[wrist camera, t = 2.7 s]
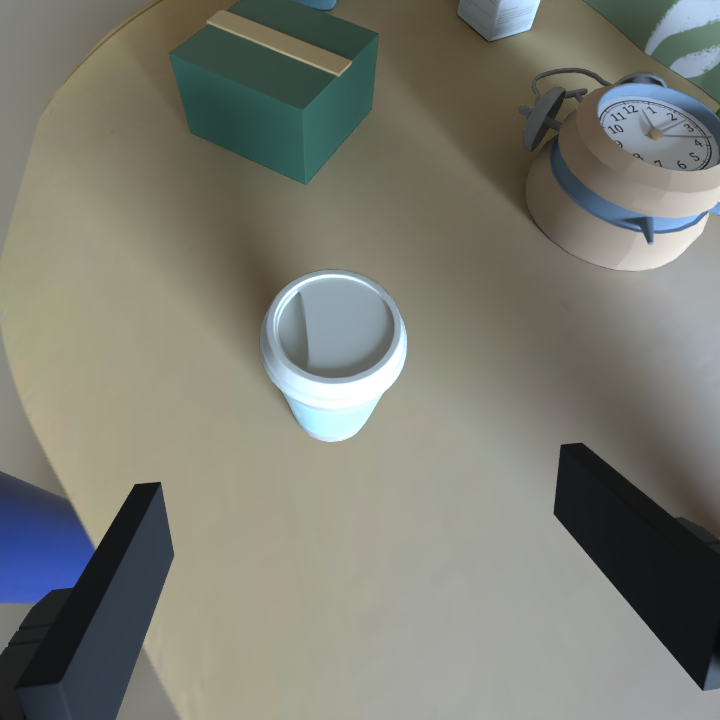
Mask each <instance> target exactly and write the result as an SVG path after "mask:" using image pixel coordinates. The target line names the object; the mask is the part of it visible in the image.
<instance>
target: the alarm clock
mask: <svg viewBox="0 0 720 720" xmlns="http://www.w3.org/2000/svg"><path fill="white" fill-rule="evenodd" d="M573 72H575V73H581V74H585V75H587V76H590V77H592V78H594V79H596V80H597V81H598V82H599V83H600V84H602V85H604V86H605V87H602V88H599V89H596V90H594V91H593V92H591V93H590V94H588V95H587V96H585V97H584V98H583V97H582V95H585V94H587V89H585V88H584V89H578V90H573V91H568V92H566V89H564V88H562V87H555V88H553V89H551V90H550V91H548V92H547V93H546V94H545V95H544V96H543V97H542V98H541V99H540V94H539V92H538V90H537V88H536V82H537V81H538V80H539V79H540V78H543V77H546V76H550V75H554V74H560V73H573ZM532 90H533V92H534V94H535V95H536V104H535V107H534V108H533V109H531V108H529V107H527V106H525V105H522V106H520V107H519V108H518V110H519V112H520V113H521V114H523V115H525V116H527V119H528V120H527V122H526V125H525V129H524V134H523V145H524V147H525V148H526V149H527V150H529V151H533V150H534V149H535V148H536V147H537V146H538V144H539V143H540V142H541V140H542V139H543V137H544V136H545V134H546V133H547V131H548V129H549V128H552V129H554V130H556V131H558V132H559V134H558V135H557V136H555V137H554V138H552V139H551V140H549V141H548V142H547V143H546V144H545V145H544V146H543V148H542V149H541V151H540V152H539V154H538V155H537V157H536V158H535V160H534V162H533V165H532V167H531V169H530V171H529V173H528V175H527V180H526V185H525V195H526V201H527V207H528V209H529V211H530V213H531V215H532V216H533V218H534V220H535V222H536V224H537V225H538V226H539V227H540V228H541V229H542V231H543V232H544V233H545V234H546V235H547V236H548V237H549V238H550V239H551V240H552V241H553V242H555V243H556V244H557V245H559V246H560V247H561V248H563V249H564V250H565V251H567V252H568V253H570V254H572V255H574V256H576V257H578V258H580V259H583V260H585V261H587V262H589V263H591V264H595V265H599V266H602V267H606V268H609V269H613V270H626V271H641V270H647V269H654V268H658V267H660V266H663V265H665V264H667V263H669V262H671V261H673V260H675V259H676V258H677V257H678V256H679V255H680V254H681V253H682V252H683V251H684V250H685V249H686V248H687V247H688V246H689V245H690V244H691V243H692V242H693V241H694V240H695V239H696V238H697V237H698V236H699V235H700V234H701V233H702V231H703V229H704V227H705V224H706V221H707V219H708V216H709V212H711V213H713V214H716V215H719V216H720V202H719V201H720V119H719V118H718V116H717V115H716V114H715V113H714V112H713V111H711V110H710V109H709V108H708V107H706V106H705V105H704V104H703V103H701V102H699V101H697V100H696V99H694V98H692V97H690V96H689V95H687V94H684V93H682V92H679V91H677V90H674V89H672V88H668V87H667V85H666V83H665V82H664V80H663V79H662V77H660V76H658V75H655V74H653V73H651V72H636V73H633V74H630V75H627V76H625V77H623V78H622V79H620V80H619V81H618V82H616V83H615V84H611V83H609V82H607V81H605V80H603V79H602V78H601V77H600V76H598V75H597V74H596V73H593V72H591V71H588V70H586V69H580V68H563V69H555V70H551V71H547V72H544V73H541V74H539V75H538V76H536V77H535V78H534V79H533V83H532ZM572 97H575V98H576V99H577V100H578V102H579V103H580V104H579V106H578V107H577V109H575V110H574V111H572V112H571V113H570V114H569V115H568V116H567V118H566V119H565V121H564V122H563V124H562V123H560V122H558V121H556V120H554V119H555V117H556V115H557V113H558V111H559V109H560V107H561V105H562V102H563V100H564V98H572Z"/></svg>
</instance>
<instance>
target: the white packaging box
mask: <svg viewBox="0 0 720 720" xmlns="http://www.w3.org/2000/svg"><path fill="white" fill-rule="evenodd" d="M539 3H540V0H460V2H459V6H458V11H457V15H458V16H460V17H461V18H462V19H463V20H464V21H466V22H467V23H468V24H469V25H470V26H471V27H473V28H474V29H475V30H476V31H477V32H478V33H479V34H481V35H482V36H483V37H484V38H485V39H486V40H488V41H493V40H497V39H500V38H504V37H507V36H511V35H514V34H517V33H520V32H524V31H527V30H529V29H530V28H531V26H532V23H533V20H534V17H535V14H536V11H537V8H538V5H539Z"/></svg>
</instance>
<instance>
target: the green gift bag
mask: <svg viewBox="0 0 720 720" xmlns="http://www.w3.org/2000/svg"><path fill="white" fill-rule="evenodd" d="M584 1H585V2H586V3H587V4H589V5H590V6H591V7H593V8H594V9H595V10H596V11H598V12H599V13H600V14H601V15H603V16H604V17H605V18H606V19H608V20H609V21H610V22H611V23H612V24H613V25H614V26H616V27H617V28H618V29H619V30H620V31H621V32H622V33H623V34H624V35H626V36H627V37H628V38H629V39H630V40H631V41H632V42H633V43H634V44H636V45H637V46H638V47H639V48H640V49H641V50H642V51H643V52H645V53H646V54H648V55H649V56H651V57H652V58H654V59H656V60H657V61H659V62H660V63H662V64H664V65H665V66H667V67H668V68H670V69H671V70H673V71H675V72H676V73H678V74H679V75H681V76H683V77H684V78H686V79H687V80H689V81H690V82H692V83H694V84H695V85H697V86H698V87H700V88H701V89H702V90H703V91H705V92H706V93H707V94H708V95H710V96H711V97H712V98H713V99H715V100H716V101H717V102H718V103H719V104H720V0H584Z"/></svg>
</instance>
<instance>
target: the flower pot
mask: <svg viewBox="0 0 720 720" xmlns="http://www.w3.org/2000/svg"><path fill="white" fill-rule="evenodd" d="M293 1H295V2H298V3H301V4H303V5H306V6H308V7H311V8H314V9H332V8H333V7H334V5H335V4H336V2H337V1H338V0H293Z"/></svg>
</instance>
